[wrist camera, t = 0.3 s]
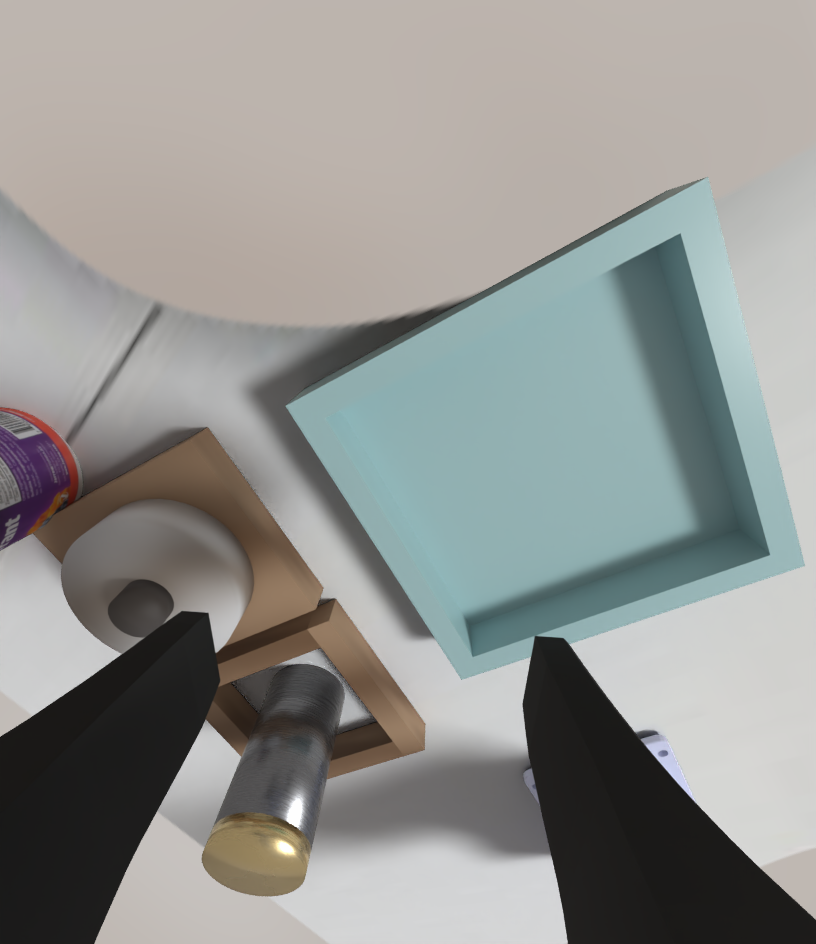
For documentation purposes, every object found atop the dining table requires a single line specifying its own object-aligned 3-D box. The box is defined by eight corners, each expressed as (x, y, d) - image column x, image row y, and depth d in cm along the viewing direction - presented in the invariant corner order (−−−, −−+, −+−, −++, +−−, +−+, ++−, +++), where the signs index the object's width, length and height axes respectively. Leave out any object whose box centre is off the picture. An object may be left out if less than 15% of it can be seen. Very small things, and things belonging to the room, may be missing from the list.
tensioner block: (425, 723, 25) (422, 812, 21) (285, 767, 28) (258, 855, 24) (211, 425, 19) (148, 468, 15) (52, 513, 21) (-41, 572, 17)
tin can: (358, 705, 25) (325, 884, 18) (297, 725, 26) (242, 903, 19) (319, 654, 24) (266, 825, 17) (256, 678, 25) (180, 849, 18)
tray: (761, 530, 19) (804, 565, 17) (459, 638, 23) (461, 679, 21) (666, 190, 15) (707, 176, 13) (304, 388, 18) (285, 405, 16)
